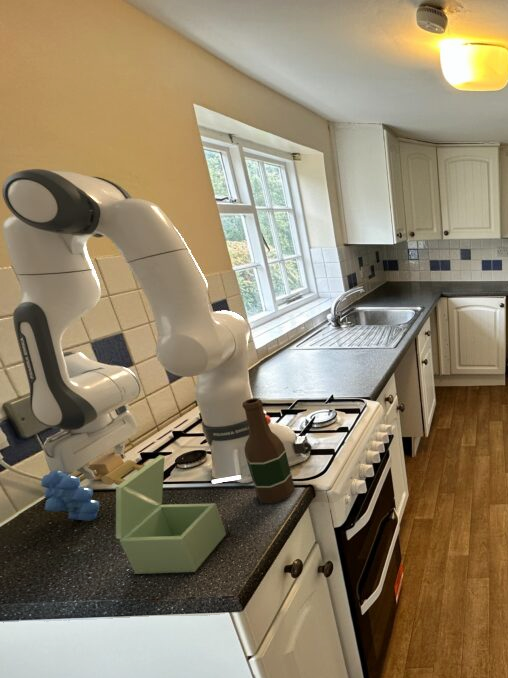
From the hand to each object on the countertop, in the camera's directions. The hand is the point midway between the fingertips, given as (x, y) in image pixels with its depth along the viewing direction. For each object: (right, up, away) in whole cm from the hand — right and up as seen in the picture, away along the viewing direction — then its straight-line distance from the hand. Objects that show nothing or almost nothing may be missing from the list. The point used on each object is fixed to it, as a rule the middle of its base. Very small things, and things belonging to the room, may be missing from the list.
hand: (107, 468), depth 102 cm
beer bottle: (+46, -5, -6) cm, 47 cm away
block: (0, -2, +1) cm, 2 cm away
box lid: (+35, +1, -28) cm, 45 cm away
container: (+38, -12, -23) cm, 46 cm away
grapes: (+9, -8, -15) cm, 19 cm away
